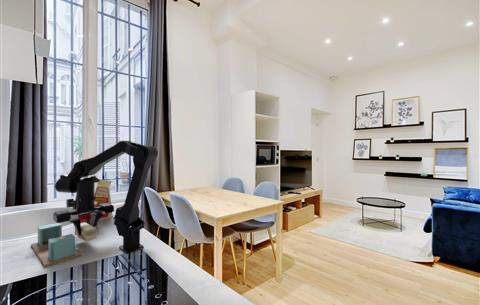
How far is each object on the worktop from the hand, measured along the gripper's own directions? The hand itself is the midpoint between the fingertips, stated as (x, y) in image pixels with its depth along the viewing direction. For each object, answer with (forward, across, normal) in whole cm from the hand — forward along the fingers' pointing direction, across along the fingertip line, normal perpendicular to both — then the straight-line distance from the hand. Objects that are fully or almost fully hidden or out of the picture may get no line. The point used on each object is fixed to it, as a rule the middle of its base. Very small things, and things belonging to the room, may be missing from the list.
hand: (85, 233), depth 88 cm
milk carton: (+4, -16, -28) cm, 32 cm away
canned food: (+4, -6, -18) cm, 19 cm away
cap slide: (+3, +9, +7) cm, 12 cm away
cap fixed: (+3, +9, -9) cm, 13 cm away
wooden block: (+1, 0, 0) cm, 1 cm away
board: (+4, +9, -1) cm, 10 cm away
